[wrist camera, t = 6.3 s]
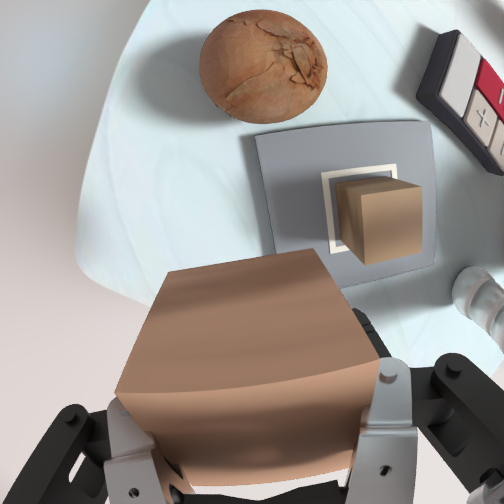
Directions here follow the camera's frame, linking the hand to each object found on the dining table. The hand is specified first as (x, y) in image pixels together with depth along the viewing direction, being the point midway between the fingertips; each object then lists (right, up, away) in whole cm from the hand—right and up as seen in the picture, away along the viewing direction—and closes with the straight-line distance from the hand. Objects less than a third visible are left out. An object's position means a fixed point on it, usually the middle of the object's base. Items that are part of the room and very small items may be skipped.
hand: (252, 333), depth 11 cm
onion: (+1, +19, +11) cm, 22 cm away
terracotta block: (0, 0, +1) cm, 1 cm away
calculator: (+26, +21, +12) cm, 35 cm away
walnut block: (+11, +7, +15) cm, 19 cm away
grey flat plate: (+11, +8, +16) cm, 20 cm away
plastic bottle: (+29, -1, +20) cm, 35 cm away
